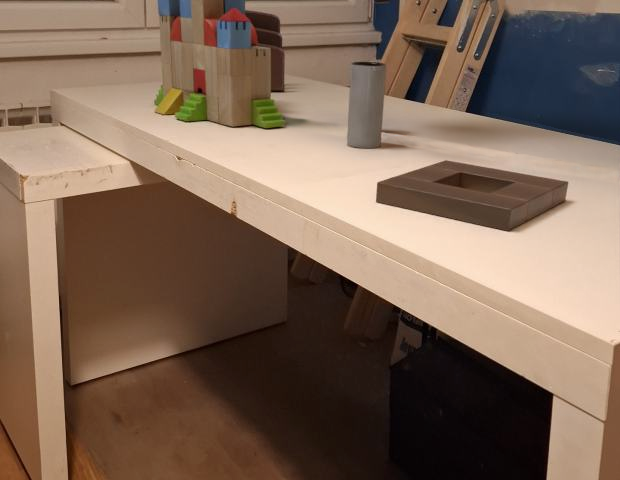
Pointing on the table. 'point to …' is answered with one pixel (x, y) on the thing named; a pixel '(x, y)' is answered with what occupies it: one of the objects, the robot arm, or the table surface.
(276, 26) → the letter holder
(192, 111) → the block set
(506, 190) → the socket pad
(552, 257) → the table surface
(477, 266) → the table surface
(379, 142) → the grey cylinder peg
